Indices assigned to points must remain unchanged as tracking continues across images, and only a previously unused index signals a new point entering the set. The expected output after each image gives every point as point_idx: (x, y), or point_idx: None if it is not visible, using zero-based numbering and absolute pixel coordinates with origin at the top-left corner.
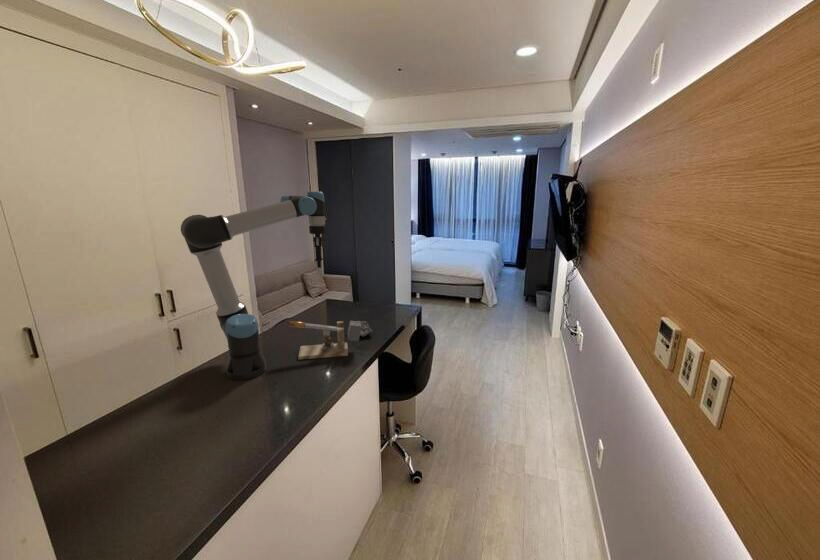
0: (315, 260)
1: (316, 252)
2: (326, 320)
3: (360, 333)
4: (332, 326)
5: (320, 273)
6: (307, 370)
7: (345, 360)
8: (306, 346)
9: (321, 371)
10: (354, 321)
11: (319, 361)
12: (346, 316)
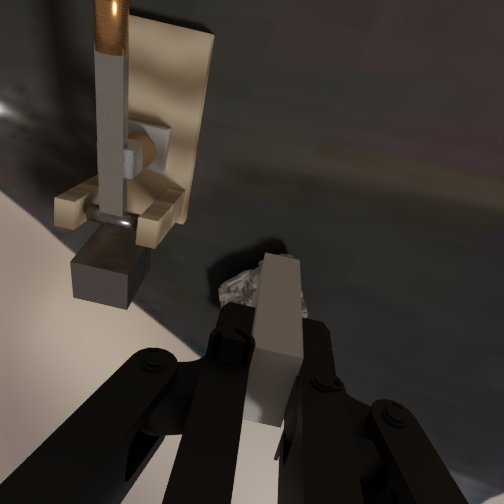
0: (212, 341)
1: (12, 490)
2: (491, 205)
3: (226, 288)
4: (118, 188)
5: (256, 290)
6: (22, 37)
7: (70, 183)
8: (198, 60)
9: (7, 87)
10: (122, 288)
11: (82, 94)
12: (487, 296)
